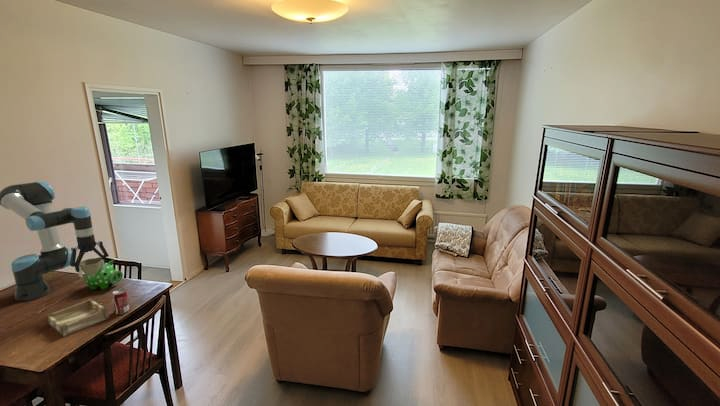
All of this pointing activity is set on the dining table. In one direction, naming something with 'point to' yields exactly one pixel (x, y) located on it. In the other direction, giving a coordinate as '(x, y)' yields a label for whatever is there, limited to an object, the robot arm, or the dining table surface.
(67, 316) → the crate
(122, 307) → the soda can
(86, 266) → the flower pot
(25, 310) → the dining table surface
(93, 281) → the piggy bank
